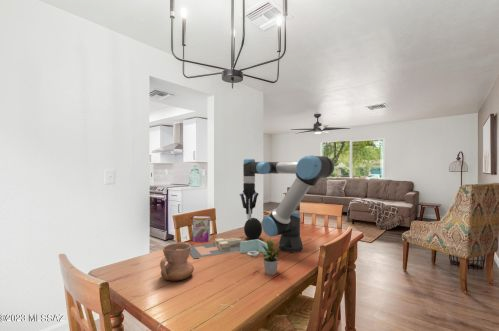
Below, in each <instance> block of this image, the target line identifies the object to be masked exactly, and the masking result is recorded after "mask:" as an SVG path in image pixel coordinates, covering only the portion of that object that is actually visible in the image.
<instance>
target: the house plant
mask: <svg viewBox="0 0 499 331" xmlns="http://www.w3.org/2000/svg"><path fill="white" fill-rule="evenodd" d="M265 240H266V243H267V245H268V249H267V248H266V247H265V246H264V245H263V244H262V243H261V244H262V245H263V248H264V249H265V251H266V252H259V251H260V250H259V251H258V252H259V253H258V254H259V255H260V254H262V253H265V255H264V254H263V259H262V260H263V266H264V272H266V273H267V274H266V273H265V274H266V275H271V274H272V275H276V274H277V270H278V269H277V268H278V262H279V258H277V257H279V256H281V257H282V256H283V255H282V254H280V253H279V252H278V251H279V250H280V249H279V247H280V246H279V245H278V244H277V247H274V246H275V242H274V239H272V237H271V238H269V239H268V238H267V237H265ZM259 242H260V241H259ZM259 242H258V243H259ZM262 245H261V246H262ZM258 246H259V245H258ZM278 246H279V247H278ZM275 248H276V249H275ZM274 249H275V250H274ZM257 250H258V249H257ZM266 253H267V254H266ZM266 256H267V257H266Z"/></svg>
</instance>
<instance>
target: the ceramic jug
mask: <svg viewBox="0 0 499 331" xmlns="http://www.w3.org/2000/svg"><path fill="white" fill-rule="evenodd" d="M191 246H192V245H191V244H190V243H189V242H188V243H187V242H183V241H182V242H180V241H179V242H175V243H169V244H167V245H165V246H164V247H162V252H163V255H164V257H163V258H162V259H161V260H160V263H159V266H160V267H159V268H160V270H161V271H160V276H161V277H162V278H163V279H165V280H167V281H170V282H171V281H172V282H177V281H182V280H185V279H188V278H189V277H191V275H192V274H193V273H194V269H195V268H194V267H195V266H194V265H193V264H192V263H191V261H188V259H189V257H190V251H191V250H192V249H191ZM166 262H167V263H166Z"/></svg>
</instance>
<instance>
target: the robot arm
mask: <svg viewBox="0 0 499 331" xmlns="http://www.w3.org/2000/svg"><path fill="white" fill-rule="evenodd" d="M242 166H243V168H242V169H243V170H242V172H243V177H242V178H243V179H242V180H243V184H242V185H243V187H242V188H243V189H242V190H243V191H242V192H241V193H239V196H240V197H241V198H240V199H241V204H242V208H243V209H245V214H246V219H247V220H248V219H251V218H252V214H253V209H255V208H256V204H257V199H258V196H259V193H258V192H257V191H256V175H257V174H258V175H267V174H268V175H269V174H270V175H271V174H273V175H274V174H275V175H276V174H283V175H284V174H287V175H288V174H290V175H295V176H296V178H295V180H294V181H293V183H292V184H291V185H290V187H289V189H288V191H287V192H286V194H285V195H284V197H283V198H282V200H281V201H280V203H279V205H278V206H277V208H273V210H272V211H271V212H270V214H269V215H265V217H263V218H262V221H261V225H262V231H263V232H264V233H265V235H266V236H269V237H271V238H272V237H277V236H280V238H279V240H278V244H277V248H278V247H279V246H280V247H279V248H278V249H279V250H280V251H282V252H286V253H298V251H299V252H301V250H302V251H303V250H304V244H303V242H302V238H301V213H300V212H299V211H295V210H296V209H297V207H298V206H299V204H300V203H301V201H302V200H303V198H304V197H305V196H306V194H307V192H308V191H309V189H310V188H311V187H315V186H316V185H317V183H318V182H319V180H320V179H326V178H328V177H330V176H331V175H332V174H333V173H334V170H335V163H334V162H333V160H332V159H331V158H329V157H327V156H324V155H323V156H322V155H311V154H310V155H306V156H303V157H301V158H300V159H299V160H298V161H297V160H295V161H294V160H293V161H256V159H254V158H243V164H242ZM278 245H279V246H278Z"/></svg>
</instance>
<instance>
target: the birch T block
mask: <svg viewBox="0 0 499 331" xmlns="http://www.w3.org/2000/svg"><path fill="white" fill-rule="evenodd" d="M240 242H243V239H241V238H240V237H232V238H225V239H224V238H223V237H216V238H215V237H214V238H213V243H214V245H215V246H216V247H217V248H218V249H219V250H221V251H222V252H224V251H230V248H231V247H237V246H240Z"/></svg>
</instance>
